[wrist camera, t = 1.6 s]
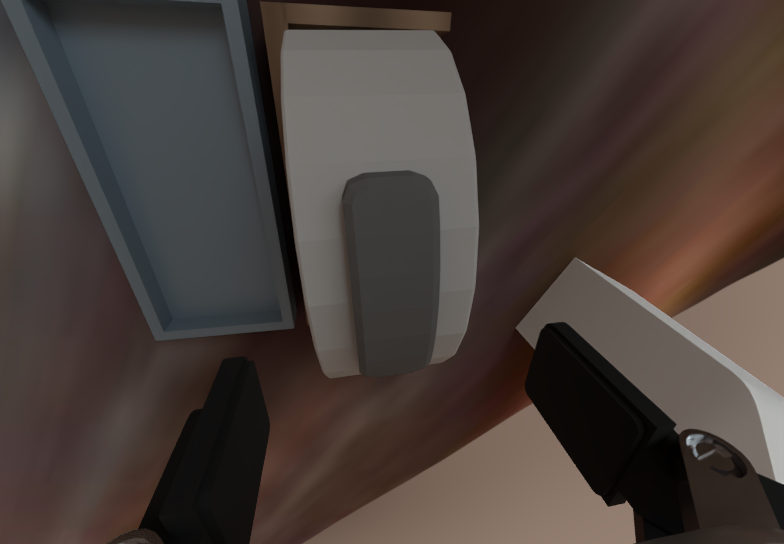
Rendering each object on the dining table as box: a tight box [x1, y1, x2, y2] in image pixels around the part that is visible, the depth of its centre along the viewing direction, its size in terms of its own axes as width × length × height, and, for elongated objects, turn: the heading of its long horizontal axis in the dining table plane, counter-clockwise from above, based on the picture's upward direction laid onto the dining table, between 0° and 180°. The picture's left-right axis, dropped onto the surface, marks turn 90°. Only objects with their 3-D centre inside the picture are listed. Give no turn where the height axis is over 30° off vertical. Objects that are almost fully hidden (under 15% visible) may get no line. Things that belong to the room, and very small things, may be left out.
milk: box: [516, 258, 784, 484], centre depth 31 cm, size 12×12×26 cm
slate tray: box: [1, 0, 297, 341], centre depth 26 cm, size 13×27×3 cm, turn 0°
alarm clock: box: [281, 30, 479, 378], centre depth 21 cm, size 21×8×20 cm, turn 2°
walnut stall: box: [260, 1, 451, 325], centre depth 28 cm, size 12×25×4 cm, turn 0°
